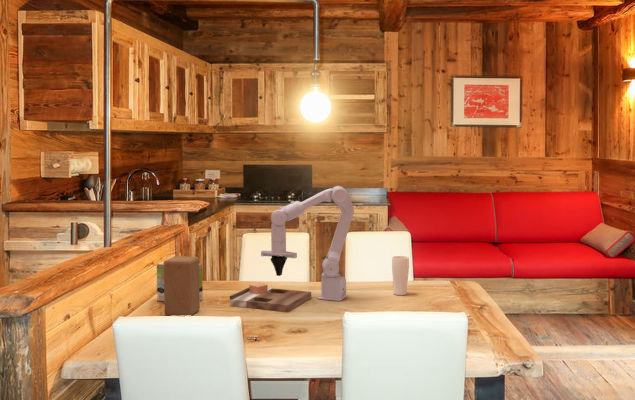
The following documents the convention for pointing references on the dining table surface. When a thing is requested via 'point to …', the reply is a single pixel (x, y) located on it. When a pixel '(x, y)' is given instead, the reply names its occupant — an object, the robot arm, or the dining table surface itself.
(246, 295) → the trap board
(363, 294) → the dining table surface
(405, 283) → the drinking glass
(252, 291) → the terracotta block
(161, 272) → the tea box
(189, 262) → the wooden block
